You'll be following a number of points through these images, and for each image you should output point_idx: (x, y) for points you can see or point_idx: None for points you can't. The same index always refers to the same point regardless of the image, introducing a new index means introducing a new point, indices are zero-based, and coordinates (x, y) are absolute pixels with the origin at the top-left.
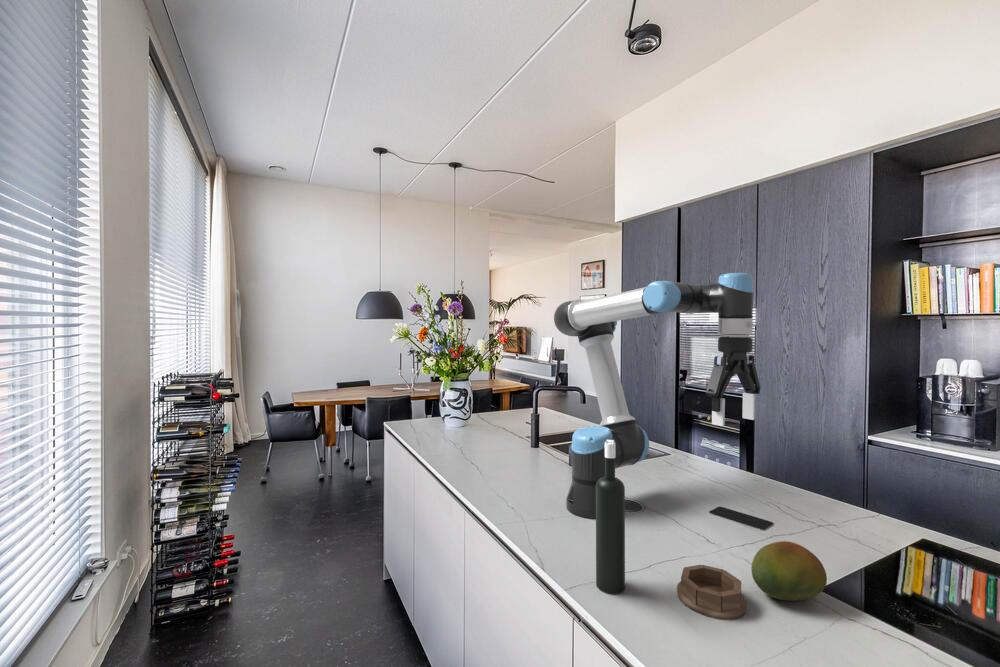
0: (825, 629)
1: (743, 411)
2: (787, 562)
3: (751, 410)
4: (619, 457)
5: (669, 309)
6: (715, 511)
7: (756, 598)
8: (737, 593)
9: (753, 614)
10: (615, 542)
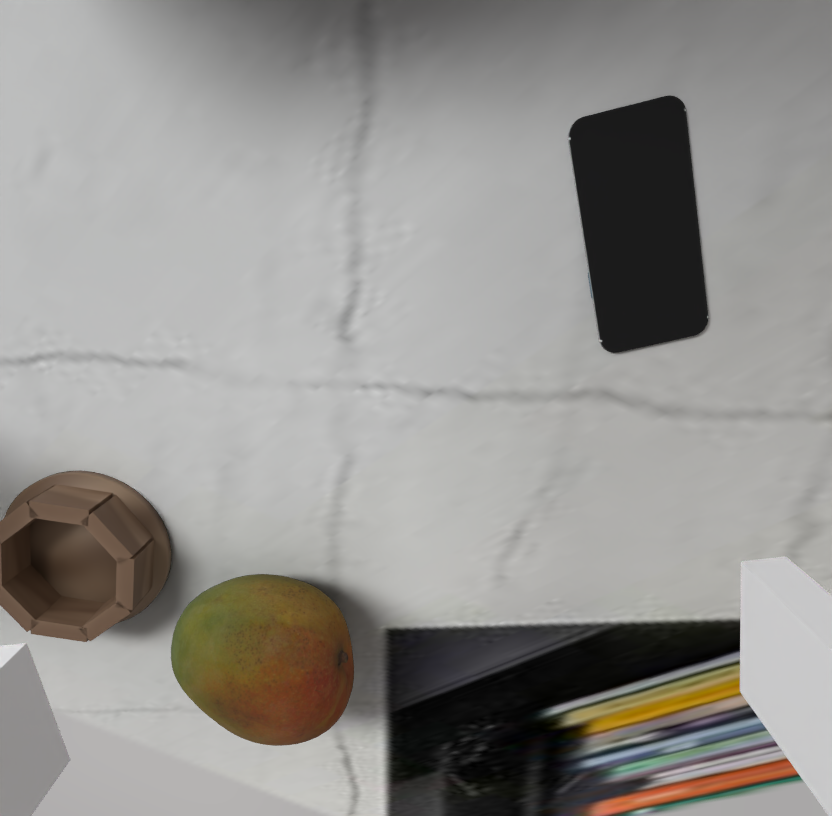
0: None
1: (805, 641)
2: (209, 716)
3: (826, 788)
4: None
5: None
6: (606, 132)
7: (202, 590)
8: (77, 640)
9: (141, 624)
10: None
